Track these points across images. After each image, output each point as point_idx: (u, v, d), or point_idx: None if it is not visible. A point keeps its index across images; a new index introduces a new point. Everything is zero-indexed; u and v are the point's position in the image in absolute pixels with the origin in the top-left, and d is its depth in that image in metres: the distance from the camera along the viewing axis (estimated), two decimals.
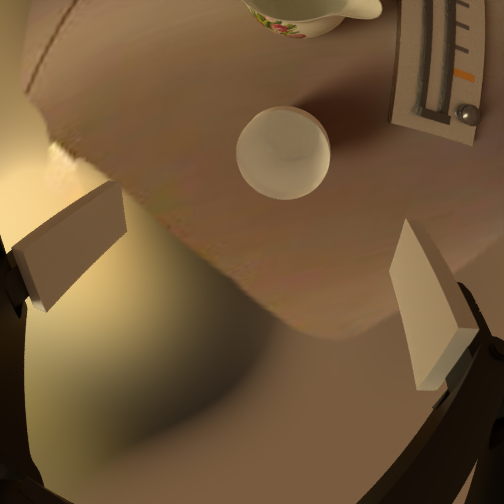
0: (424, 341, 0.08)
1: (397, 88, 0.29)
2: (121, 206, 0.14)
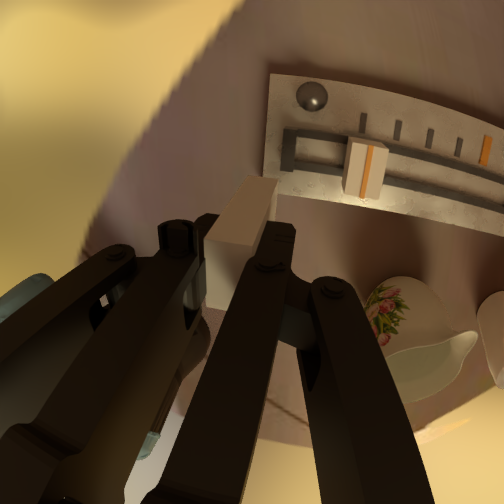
0: None
1: (492, 232, 0.27)
2: None
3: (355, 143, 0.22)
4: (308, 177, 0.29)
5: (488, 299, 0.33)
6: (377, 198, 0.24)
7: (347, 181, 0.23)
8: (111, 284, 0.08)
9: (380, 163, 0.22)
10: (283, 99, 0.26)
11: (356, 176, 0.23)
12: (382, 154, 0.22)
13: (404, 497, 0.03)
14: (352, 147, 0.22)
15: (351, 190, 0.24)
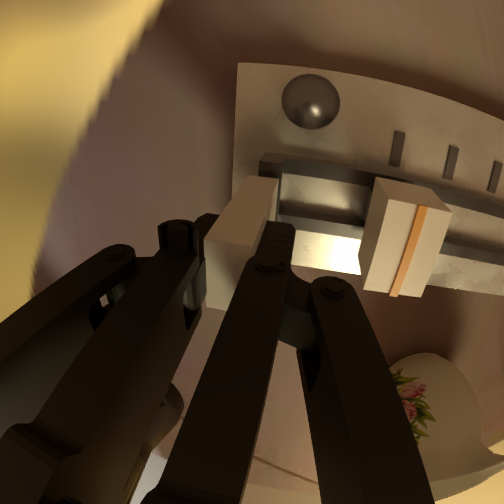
0: None
1: None
2: None
3: (393, 201, 0.11)
4: (303, 236, 0.19)
5: None
6: (419, 294, 0.13)
7: (371, 269, 0.13)
8: (111, 284, 0.08)
9: (434, 238, 0.11)
10: (261, 106, 0.15)
11: (388, 261, 0.12)
12: (440, 222, 0.11)
13: (404, 497, 0.03)
14: (387, 208, 0.11)
15: (376, 283, 0.13)
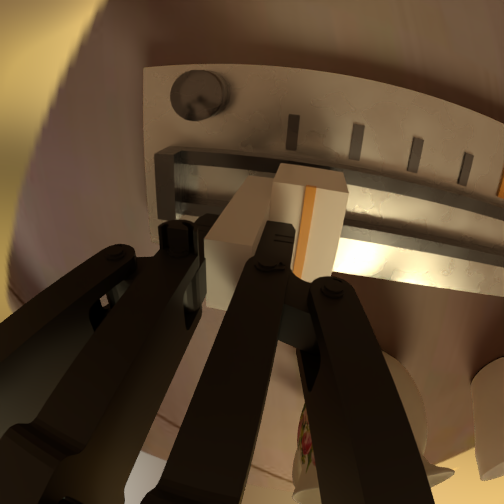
0: None
1: None
2: None
3: (278, 183, 0.12)
4: None
5: (487, 367, 0.23)
6: None
7: None
8: (111, 284, 0.08)
9: (331, 221, 0.12)
10: (163, 105, 0.16)
11: None
12: (335, 203, 0.12)
13: (404, 497, 0.03)
14: (273, 191, 0.12)
15: None
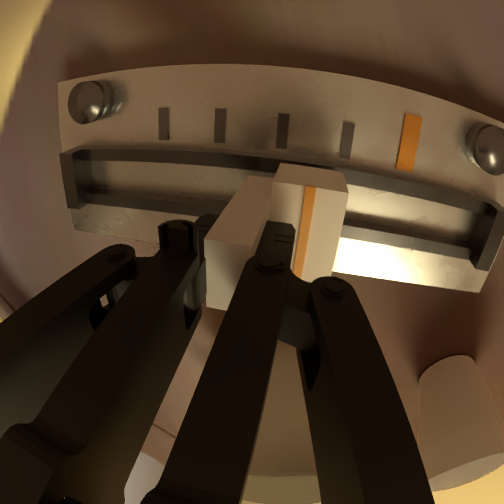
0: None
1: (432, 283, 0.19)
2: None
3: (278, 183, 0.12)
4: (113, 211, 0.21)
5: (434, 366, 0.24)
6: None
7: None
8: (111, 284, 0.08)
9: (331, 220, 0.12)
10: None
11: None
12: (335, 203, 0.12)
13: (404, 497, 0.03)
14: (273, 191, 0.12)
15: None
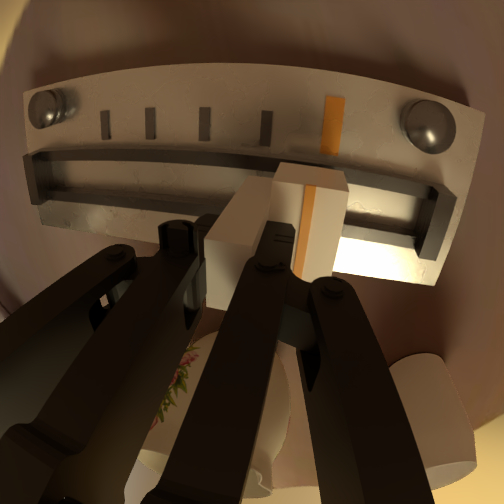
0: None
1: (376, 274, 0.19)
2: None
3: (278, 182, 0.12)
4: (70, 206, 0.21)
5: (396, 364, 0.25)
6: None
7: None
8: (111, 284, 0.08)
9: (331, 220, 0.12)
10: None
11: None
12: (335, 202, 0.12)
13: (404, 497, 0.03)
14: (272, 190, 0.12)
15: None
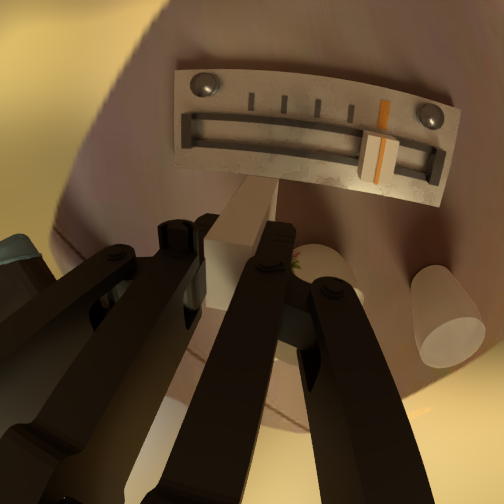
0: None
1: (406, 198, 0.32)
2: None
3: (370, 136, 0.24)
4: (209, 153, 0.34)
5: (419, 272, 0.38)
6: (389, 184, 0.26)
7: (363, 169, 0.26)
8: (111, 284, 0.08)
9: (392, 153, 0.25)
10: (185, 90, 0.30)
11: (371, 165, 0.26)
12: (393, 146, 0.24)
13: (404, 497, 0.03)
14: (367, 139, 0.25)
15: (366, 177, 0.26)
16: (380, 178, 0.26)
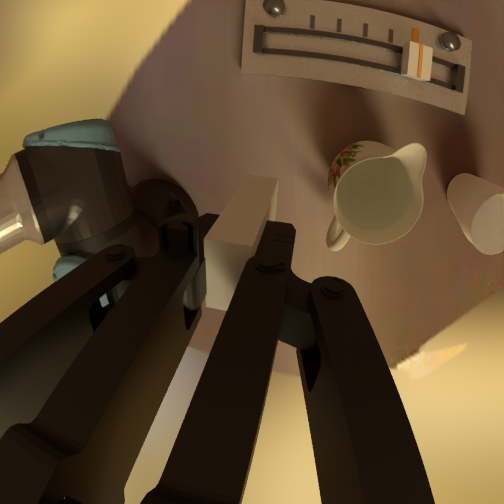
0: None
1: (438, 105, 0.33)
2: None
3: (411, 42, 0.25)
4: (275, 60, 0.35)
5: (453, 179, 0.39)
6: (429, 79, 0.27)
7: (408, 65, 0.27)
8: (111, 284, 0.08)
9: (428, 56, 0.26)
10: (255, 11, 0.31)
11: (414, 63, 0.27)
12: (429, 50, 0.25)
13: (404, 497, 0.03)
14: (410, 44, 0.26)
15: (411, 72, 0.27)
16: (422, 73, 0.27)
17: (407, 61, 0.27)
